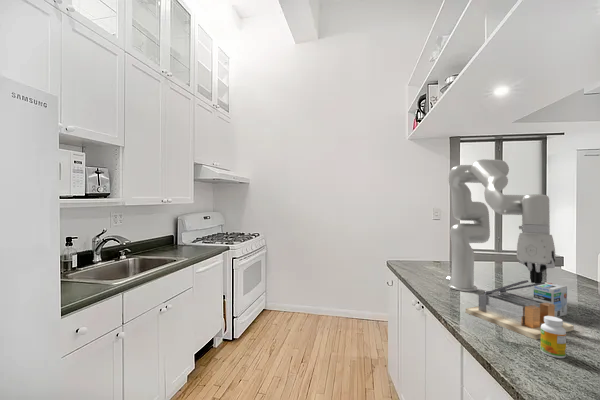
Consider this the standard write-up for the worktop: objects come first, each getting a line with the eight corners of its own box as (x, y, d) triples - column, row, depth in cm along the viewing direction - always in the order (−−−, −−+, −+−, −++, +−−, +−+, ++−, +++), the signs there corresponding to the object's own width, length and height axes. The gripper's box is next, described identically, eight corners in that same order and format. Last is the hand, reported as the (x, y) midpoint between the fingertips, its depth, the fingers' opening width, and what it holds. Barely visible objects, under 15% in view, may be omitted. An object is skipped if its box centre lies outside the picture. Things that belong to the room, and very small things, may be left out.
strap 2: (499, 292, 114) (497, 289, 115) (503, 292, 115) (502, 289, 116) (541, 285, 101) (539, 282, 102) (546, 284, 102) (544, 281, 103)
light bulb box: (553, 319, 108) (554, 289, 108) (532, 312, 114) (532, 284, 114) (567, 314, 113) (568, 285, 113) (546, 308, 119) (546, 281, 119)
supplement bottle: (535, 349, 85) (535, 314, 85) (552, 348, 86) (553, 314, 86) (552, 359, 80) (553, 322, 80) (571, 358, 80) (571, 322, 80)
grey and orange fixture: (478, 310, 112) (478, 293, 112) (503, 305, 117) (503, 289, 117) (530, 329, 95) (530, 309, 95) (556, 322, 101) (556, 304, 101)
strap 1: (484, 295, 111) (483, 292, 112) (490, 294, 112) (488, 291, 113) (524, 283, 99) (522, 280, 99) (529, 282, 100) (527, 279, 100)
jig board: (465, 312, 113) (465, 308, 113) (500, 306, 121) (500, 302, 121) (536, 339, 91) (536, 334, 91) (573, 330, 99) (573, 325, 99)
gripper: (506, 228, 110) (507, 279, 109) (554, 231, 96) (555, 289, 95) (519, 228, 113) (520, 277, 112) (567, 231, 99) (568, 287, 98)
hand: (536, 282), depth 104 cm, fingers closed
